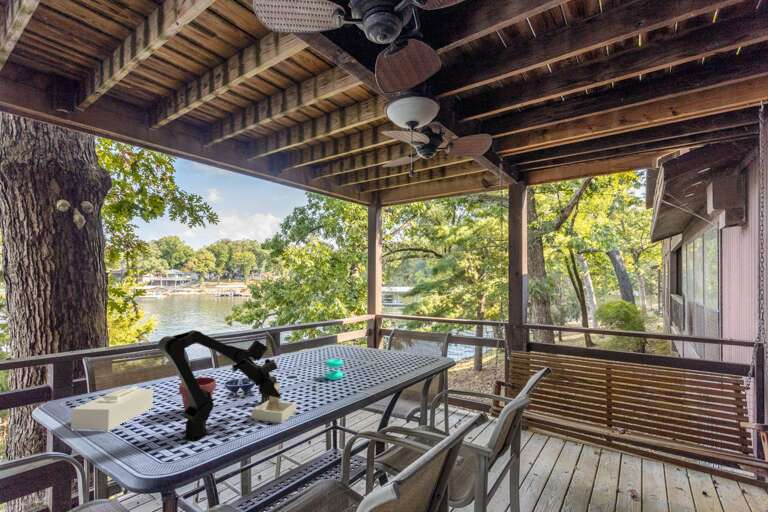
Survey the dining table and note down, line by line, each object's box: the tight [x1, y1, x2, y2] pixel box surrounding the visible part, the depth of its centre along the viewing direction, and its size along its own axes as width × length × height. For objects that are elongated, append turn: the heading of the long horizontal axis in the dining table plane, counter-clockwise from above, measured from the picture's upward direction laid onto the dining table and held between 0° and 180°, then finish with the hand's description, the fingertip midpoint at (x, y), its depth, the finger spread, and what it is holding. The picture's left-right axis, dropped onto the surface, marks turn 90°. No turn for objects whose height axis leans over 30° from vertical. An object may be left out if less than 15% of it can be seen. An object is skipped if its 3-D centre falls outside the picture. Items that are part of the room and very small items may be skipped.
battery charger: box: [260, 375, 278, 404], centre depth 172 cm, size 7×4×11 cm, turn 113°
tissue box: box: [70, 385, 154, 431], centre depth 152 cm, size 14×25×11 cm, turn 178°
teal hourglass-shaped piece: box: [325, 358, 344, 381], centre depth 212 cm, size 10×10×10 cm
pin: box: [269, 382, 280, 412], centre depth 155 cm, size 4×4×12 cm
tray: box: [251, 401, 297, 424], centre depth 155 cm, size 12×14×4 cm
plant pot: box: [178, 376, 217, 411], centre depth 160 cm, size 14×14×13 cm
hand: (278, 393), depth 155 cm, fingers open, 9 cm apart
